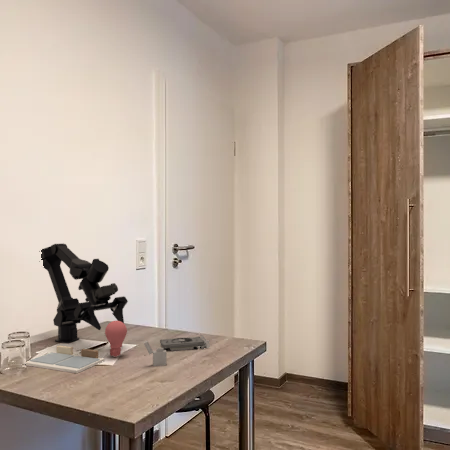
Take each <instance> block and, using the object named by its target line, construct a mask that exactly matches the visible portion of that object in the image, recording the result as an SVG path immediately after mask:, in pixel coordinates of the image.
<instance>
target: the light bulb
mask: <svg viewBox="0 0 450 450" xmlns="http://www.w3.org/2000/svg"><path fill="white" fill-rule="evenodd" d="M104 333H105V337H106V339H107V342H108V343H109V347H110V349H109V355H110V356H111V357H115V358H117V357H118V356H121V355H122V354H121V353H122V347H123V342H124V340H125V339H126V337H127V334H128V329H127V326H126V324H125V322H124V323H123V322H121V321H118V320H113V321H110V322H109V323H108V324H107V325H106V327H105V329H104Z"/></svg>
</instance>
